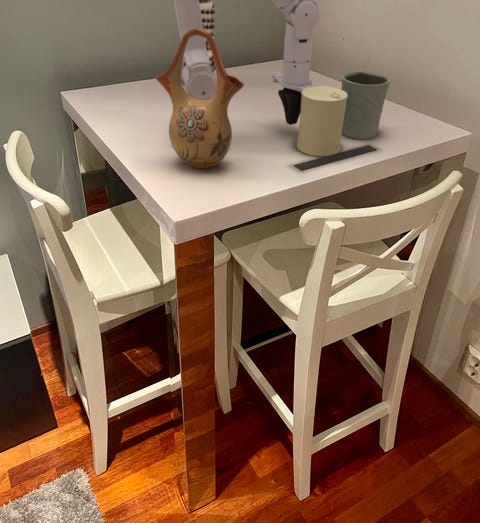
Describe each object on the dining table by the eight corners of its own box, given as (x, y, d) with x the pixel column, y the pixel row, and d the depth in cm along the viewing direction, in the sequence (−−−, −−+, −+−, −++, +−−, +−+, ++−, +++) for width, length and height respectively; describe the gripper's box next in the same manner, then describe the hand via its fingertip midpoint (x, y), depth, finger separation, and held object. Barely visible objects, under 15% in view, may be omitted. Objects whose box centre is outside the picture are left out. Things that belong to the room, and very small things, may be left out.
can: (325, 160, 104) (333, 101, 97) (288, 148, 109) (292, 91, 102) (348, 146, 110) (356, 90, 103) (311, 135, 115) (317, 80, 108)
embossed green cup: (346, 141, 112) (354, 86, 105) (327, 125, 120) (334, 72, 113) (388, 137, 115) (399, 83, 108) (367, 121, 123) (376, 69, 116)
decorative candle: (221, 80, 146) (222, -20, 131) (202, 89, 140) (200, -15, 125) (195, 74, 150) (192, -23, 135) (175, 82, 144) (170, -19, 129)
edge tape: (301, 170, 101) (301, 169, 100) (293, 165, 102) (293, 164, 102) (376, 149, 109) (376, 149, 109) (368, 145, 111) (368, 144, 111)
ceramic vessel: (247, 160, 104) (251, 26, 89) (235, 180, 97) (238, 37, 82) (169, 150, 107) (161, 19, 92) (153, 168, 100) (141, 29, 85)
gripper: (334, 65, 104) (326, 130, 112) (291, 49, 114) (286, 110, 122) (307, 70, 101) (300, 136, 109) (265, 53, 111) (262, 115, 119)
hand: (291, 123), depth 115 cm, fingers closed
